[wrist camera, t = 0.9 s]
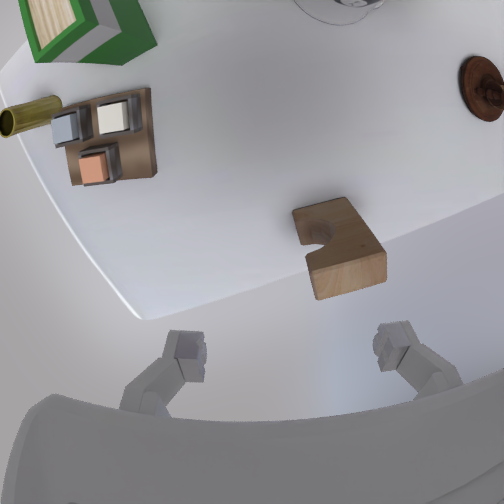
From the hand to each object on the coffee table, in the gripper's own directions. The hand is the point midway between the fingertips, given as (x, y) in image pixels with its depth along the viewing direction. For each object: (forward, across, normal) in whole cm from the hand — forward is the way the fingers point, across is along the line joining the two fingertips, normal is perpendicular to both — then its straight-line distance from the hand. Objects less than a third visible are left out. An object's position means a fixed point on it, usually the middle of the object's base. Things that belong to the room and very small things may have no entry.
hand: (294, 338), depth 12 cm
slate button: (+36, +33, -9) cm, 49 cm away
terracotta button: (+36, +28, -1) cm, 46 cm away
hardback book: (+41, +24, -28) cm, 55 cm away
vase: (+41, +42, -13) cm, 60 cm away
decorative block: (+41, -12, +13) cm, 45 cm away
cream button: (+36, +23, -9) cm, 43 cm away
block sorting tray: (+41, +28, -5) cm, 50 cm away
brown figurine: (+41, -47, -20) cm, 65 cm away
